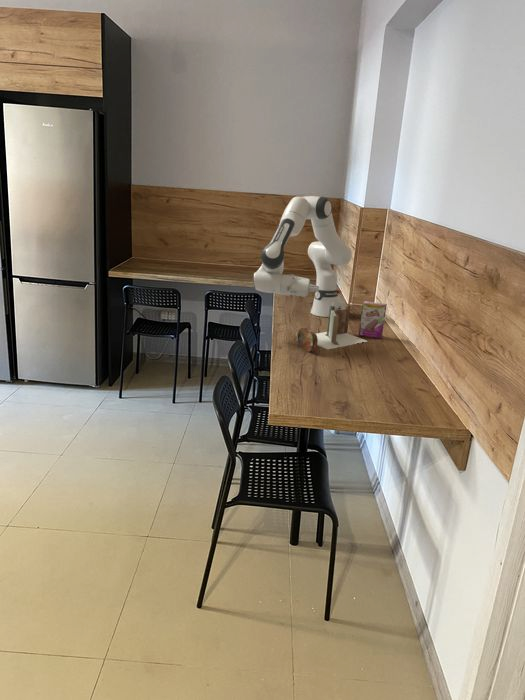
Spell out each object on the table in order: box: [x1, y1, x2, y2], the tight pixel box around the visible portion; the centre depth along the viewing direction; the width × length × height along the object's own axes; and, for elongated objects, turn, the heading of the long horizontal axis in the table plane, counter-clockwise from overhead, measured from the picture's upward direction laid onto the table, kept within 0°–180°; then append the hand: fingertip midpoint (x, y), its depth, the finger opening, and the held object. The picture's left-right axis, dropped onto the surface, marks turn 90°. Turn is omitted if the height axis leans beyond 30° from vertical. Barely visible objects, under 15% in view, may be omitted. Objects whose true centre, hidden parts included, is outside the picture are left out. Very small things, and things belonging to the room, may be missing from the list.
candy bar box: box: [358, 300, 388, 339], centre depth 255 cm, size 11×5×16 cm, turn 74°
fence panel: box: [329, 310, 338, 343], centre depth 243 cm, size 14×2×12 cm, turn 0°
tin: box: [297, 327, 318, 353], centre depth 231 cm, size 15×3×8 cm, turn 21°
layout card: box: [315, 331, 368, 350], centre depth 248 cm, size 26×20×1 cm
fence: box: [326, 305, 351, 336], centre depth 254 cm, size 13×2×14 cm, turn 127°
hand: (318, 289), depth 238 cm, fingers closed
